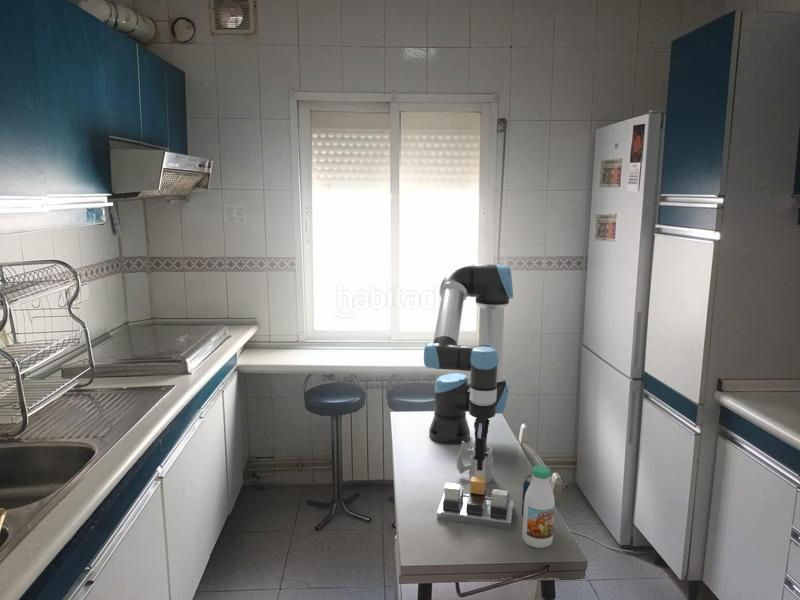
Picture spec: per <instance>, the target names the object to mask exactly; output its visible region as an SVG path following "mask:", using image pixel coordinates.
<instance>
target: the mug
mask: <svg viewBox="0 0 800 600" xmlns="http://www.w3.org/2000/svg"><path fill="white" fill-rule="evenodd" d="M485 453H486V454H488V457H486V456H485V478H486V483H485V484H488V483H490V482H492V480H493V477H494V475H495V474H494V471H493V462H494V457H493V449H492V447H490V446H488V445H486V452H485ZM466 454H471V455H470V457H469V459H470V463H468V464H466V465H465V464H464V463H463V458H464V457H465V455H466ZM473 456H475V445H474V446H472V448H468V444H467V443H466V442H464V441H462V443H461V447H460V450H459V452H458V454H457V456H456V458H455V462H456V470H457V471H458V472H459V474H461V475H462V474H463V473H465V472H466V471H468V474H469V479H470V480H471V477H475V459H473Z"/></svg>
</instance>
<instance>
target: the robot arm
mask: <svg viewBox="0 0 800 600" xmlns="http://www.w3.org/2000/svg"><path fill="white" fill-rule="evenodd" d="M513 287H514V286H513V276H512V270H511V267H510V266H509V265H505V264H496V263H495V264H491V263H482V264H481V263H477V264H476V263H464V264H460V265H458V266H456V267H455V268H453V269H452V270H451V271H449V272H448V273H447V274H446V275H445V277H444V278H443V279H442V281H441V283H440V289H439V296H440V304H439V308H438V315H437V320H436V326H435V331H434V336H433V342H431V343H426V344H425V346H424V349H423V364H424V366H425V367H426V368H428V369H433V370H448V371H449V370H450V371H451V370H452V371H453V370H454V371H463V372H464V371H465V372H470V373H469V374H470V376H469V378H470V379H468V376H467V374H463V373H460V372H459V373H456V372H454V373H447V374H446V373H445V374H444V375H441V376H439V377H437V378H436V380H435V385H434V390H433V391H434V416H433V419H432V421H431V424H430V427H429V430H428V431H429V432H428V434H429V435H428V436H429V438H430V439H431V440H432V441H434V442H436V443H439V444H444V445H460V444H462V441H464V442H465V443H466V442H468V441H469V440H470V439H471V430H470V427H469V423H468V420H467V417H466V416H467V412H468V414H469V416H471V417H472V418H475V421H474V422H473V423H474V424H473V428H474V439H475V440H474V446H475V456H473V459H475V477H480V478H485V456H486V457H488V454H486V453H485V452H486V446H487V440H488V434H489V426H490V419H492V418H494V417H495V416H496V415H497V414H498V415H500V414H503V413H504V412H505V411H506V407H507V402H508V398H509V397H508V396H509V389H510V382H508V381H506V376H505V375H504V374H503V371H502V369H503V367H502V366H503V346H504V343H503V342H504V324H505V323H504V321H505V308H506V307H507V306H508V305H509V304H510V300H512V299H513V298H514V292H513V291H514V289H513ZM467 297H470V298H475V303H476V305H478V307H479V318H478V320H479V321H478V322H479V323H478V344H477V345H461V344H460V345H459V344H458V343H459V336H460V329H461V322H462V316H463V315H462V314H463V313H462V312H463V306H464V301H466V299H467Z"/></svg>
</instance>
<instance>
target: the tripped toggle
mask: <svg viewBox="0 0 800 600" xmlns="http://www.w3.org/2000/svg"><path fill="white" fill-rule="evenodd" d="M469 481H470V483H469V485H470V487H469V493H475V494H482V495H484V493H485V490H486V484H487V483H486V478H480V477H471V479H470V480H469Z"/></svg>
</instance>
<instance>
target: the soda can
mask: <svg viewBox="0 0 800 600" xmlns="http://www.w3.org/2000/svg"><path fill="white" fill-rule="evenodd" d="M532 478H533V477H532V474H528V475H526V477H525V480H524V481H523V483H522V498H521V501H522V502H521V516H522V518H523V512H524V499H525V494H526V491H527V489H528V487H529V486H530V484H531V481H532Z"/></svg>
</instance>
